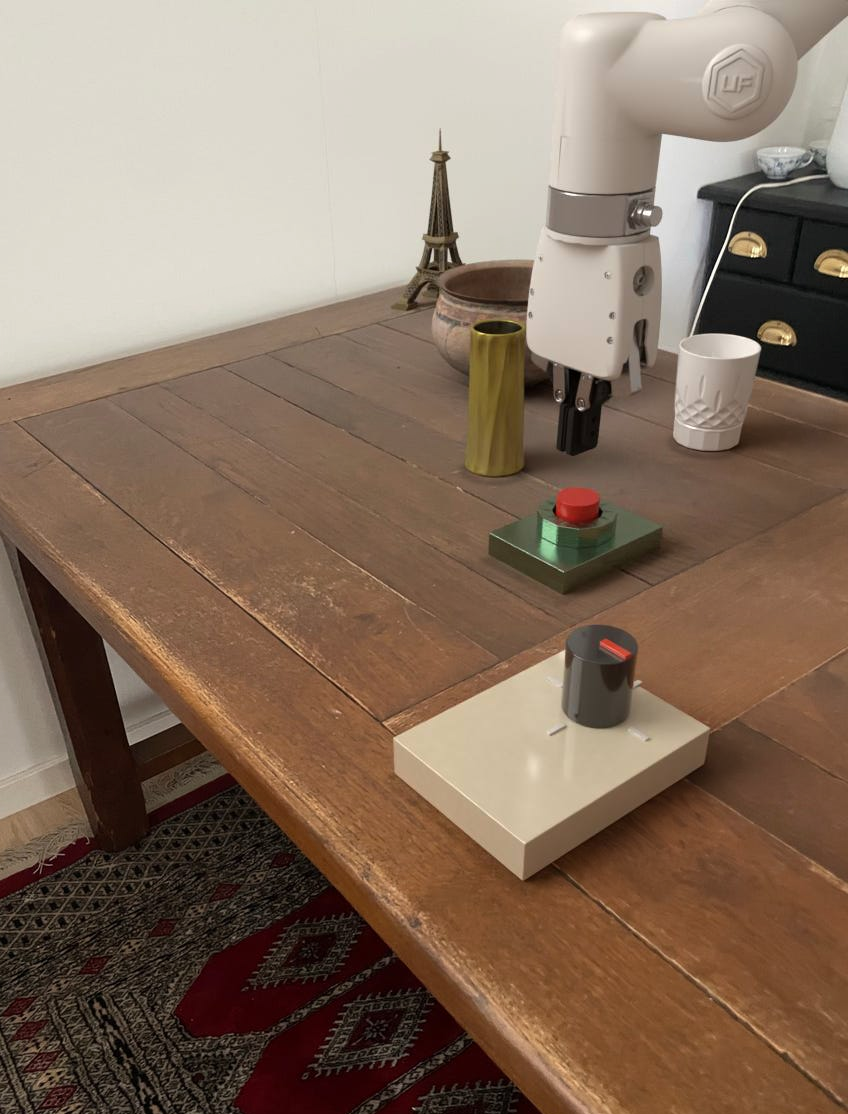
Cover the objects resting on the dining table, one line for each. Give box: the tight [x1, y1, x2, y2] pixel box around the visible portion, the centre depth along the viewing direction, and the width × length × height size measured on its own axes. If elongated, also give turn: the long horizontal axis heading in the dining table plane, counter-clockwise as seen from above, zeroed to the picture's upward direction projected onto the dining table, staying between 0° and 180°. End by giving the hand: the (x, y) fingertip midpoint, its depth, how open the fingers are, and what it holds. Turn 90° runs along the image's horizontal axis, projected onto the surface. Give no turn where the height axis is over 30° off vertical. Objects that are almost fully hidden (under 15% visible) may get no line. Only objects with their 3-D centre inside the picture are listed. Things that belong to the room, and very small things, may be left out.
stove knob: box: [561, 624, 639, 728], centre depth 65 cm, size 4×4×5 cm
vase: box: [464, 319, 526, 478], centre depth 101 cm, size 6×6×14 cm
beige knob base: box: [392, 649, 711, 882], centre depth 65 cm, size 16×12×3 cm
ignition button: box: [556, 486, 601, 522], centre depth 87 cm, size 4×4×2 cm
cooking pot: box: [431, 258, 550, 390], centre depth 122 cm, size 25×19×12 cm
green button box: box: [488, 495, 664, 596], centre depth 88 cm, size 12×9×4 cm
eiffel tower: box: [390, 129, 467, 312], centre depth 146 cm, size 11×11×25 cm
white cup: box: [672, 333, 762, 452], centre depth 105 cm, size 8×8×10 cm
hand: (576, 448), depth 84 cm, fingers closed
